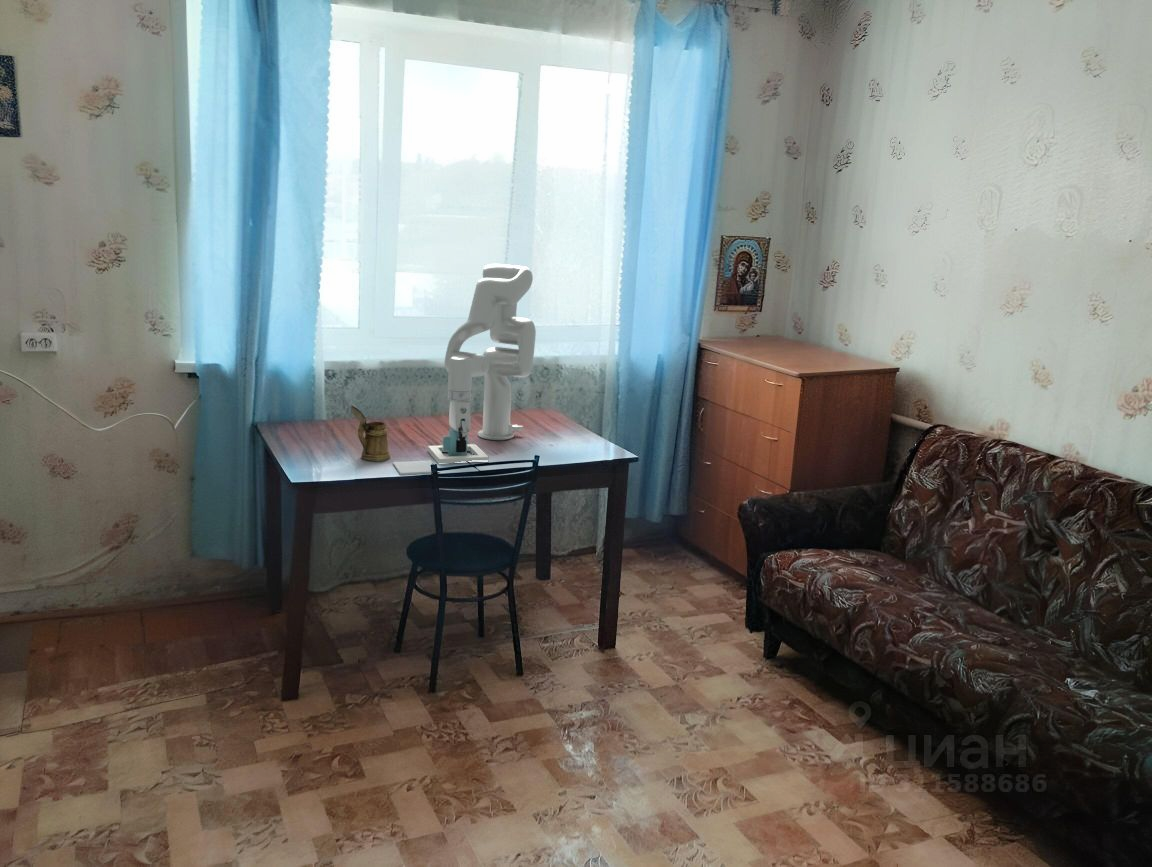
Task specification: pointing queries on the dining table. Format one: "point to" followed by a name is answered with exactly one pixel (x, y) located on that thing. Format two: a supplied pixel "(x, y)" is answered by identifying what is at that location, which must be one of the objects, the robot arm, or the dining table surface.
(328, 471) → the dining table surface
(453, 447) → the jug
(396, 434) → the dining table surface
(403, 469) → the tile
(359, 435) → the wooden mug
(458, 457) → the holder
